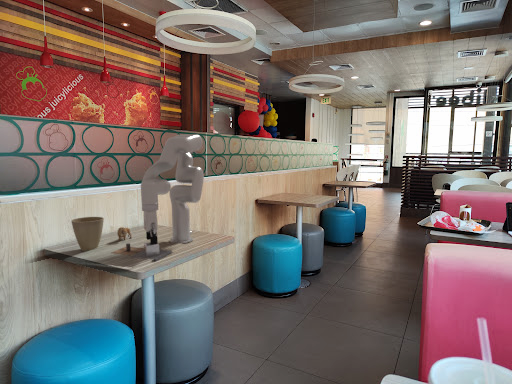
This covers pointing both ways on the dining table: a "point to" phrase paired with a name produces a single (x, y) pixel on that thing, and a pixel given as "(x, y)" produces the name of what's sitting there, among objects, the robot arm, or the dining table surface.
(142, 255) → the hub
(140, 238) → the dining table surface
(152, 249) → the white hollow box
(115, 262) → the dining table surface
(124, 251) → the stand
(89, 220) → the plant pot
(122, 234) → the lion figurine
